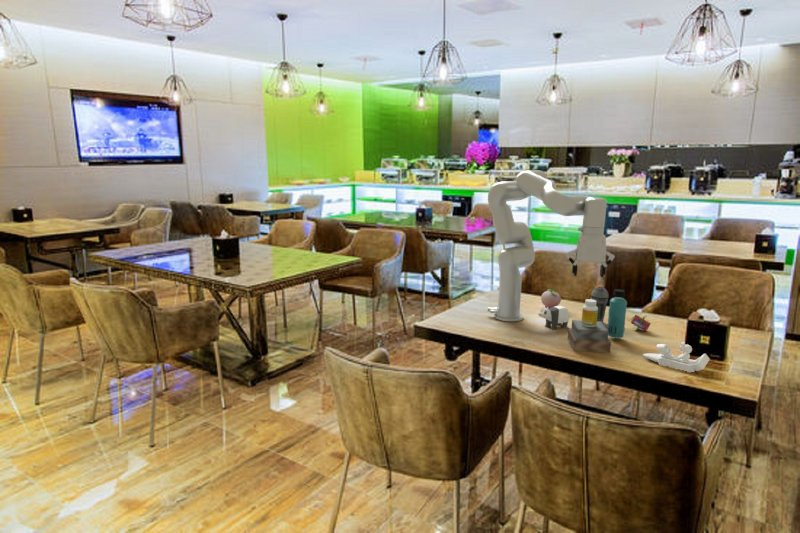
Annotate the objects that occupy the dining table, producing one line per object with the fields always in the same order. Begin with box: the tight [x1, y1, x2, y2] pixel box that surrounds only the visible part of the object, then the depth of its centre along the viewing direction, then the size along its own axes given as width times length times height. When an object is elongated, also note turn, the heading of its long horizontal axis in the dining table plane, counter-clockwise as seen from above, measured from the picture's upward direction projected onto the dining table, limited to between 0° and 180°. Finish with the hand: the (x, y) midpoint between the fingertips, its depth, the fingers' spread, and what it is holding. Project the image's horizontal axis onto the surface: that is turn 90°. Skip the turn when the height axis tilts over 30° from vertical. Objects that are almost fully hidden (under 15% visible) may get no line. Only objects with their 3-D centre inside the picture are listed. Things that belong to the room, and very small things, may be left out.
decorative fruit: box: [540, 288, 562, 308], centre depth 244 cm, size 9×8×10 cm
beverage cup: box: [590, 277, 610, 324], centre depth 225 cm, size 7×7×20 cm
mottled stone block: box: [567, 319, 612, 353], centre depth 199 cm, size 13×13×8 cm
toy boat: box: [642, 341, 711, 373], centre depth 180 cm, size 11×20×9 cm, turn 50°
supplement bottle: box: [581, 298, 598, 327], centre depth 197 cm, size 5×5×10 cm
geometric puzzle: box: [630, 314, 652, 333], centre depth 216 cm, size 7×7×8 cm
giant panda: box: [538, 305, 570, 330], centre depth 219 cm, size 15×6×10 cm, turn 115°
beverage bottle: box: [606, 289, 628, 339], centre depth 205 cm, size 6×7×20 cm
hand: (588, 275), depth 198 cm, fingers open, 9 cm apart
